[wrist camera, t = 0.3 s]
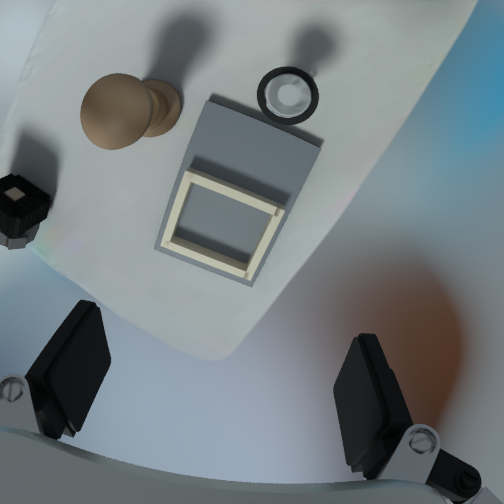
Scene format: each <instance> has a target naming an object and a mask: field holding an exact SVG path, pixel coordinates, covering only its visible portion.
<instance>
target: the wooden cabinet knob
mask: <svg viewBox="0 0 504 504" xmlns="http://www.w3.org/2000/svg"><path fill="white" fill-rule="evenodd" d="M180 113H181V100H180V97H179V94H178V92H177V91H176V90H175V88H174V87H173V86H171V85H170V84H168V83H166V82H164V81H159V80H148V81H144V82H142V81H141V80H140V79H138V78H136V77H134V76H131V75H127V74H121V73H115V74H110V75H107V76H104V77H102V78H100V79H99V80H98V81H96V82H95V83H94V84H93V85H92V86H91V87H90V88H89V90H88V91H87V93H86V95H85V97H84V99H83V102H82V105H81V112H80V118H81V124H82V128H83V130H84V132H85V134H86V136H87V137H88V139H89V140H90V141H91V142H92V143H94V144H95V145H96V146H98V147H100V148H103V149H108V150H116V149H121V148H124V147H127V146H129V145H131V144H133V143H135V142H136V141H137V140H139V139H140V138H141V137H142V136H144V137H155V136H159V135H162V134H164V133H166V132H168V131H169V130H170V129H171V128H172V127H173V126H174V125H175V124H176V122H177V121H178V119H179V116H180Z"/></svg>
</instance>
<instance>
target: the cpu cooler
mask: <svg viewBox="0 0 504 504" xmlns="http://www.w3.org/2000/svg"><path fill="white" fill-rule="evenodd" d="M49 199H50V196H49V195H47V194H46V193H45V192H43V191H42V190H40V189H39V188H37V187H35V186H34V185H33V184H31V183H30V182H29V181H26V179H24V178H22V177H21V176H19V175H17V176H14V175H13V174H9V175H8V176H5V177H3V178H0V245H3V246H6V247H8V249H9V250H11V249H20V248H25V246H26V244H28V243H29V242H31V241H33V240H34V238H35V236H36V233H37V231H38V229H39V225H40V222H42V221H43V220H45V219H46V218H47V215H48V211H49V207H50V203H51V201H50V200H49Z"/></svg>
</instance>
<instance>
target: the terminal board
mask: <svg viewBox="0 0 504 504" xmlns="http://www.w3.org/2000/svg"><path fill="white" fill-rule="evenodd" d="M320 150H321V148H319V147H317V146H315V145H313V144H311V143H309V142H307V141H305V140H303V139H301V138H298V137H296V136H294V135H292V134H290V133H287V132H285V131H283V130H281V129H278V128H276V127H274V126H272V125H269V124H267V123H265V122H262V121H260V120H257V119H255V118H252V117H250V116H248V115H245V114H243V113H240V112H237V111H235V110H232V109H230V108H227V107H224V106H222V105H219V104H216V103H214V102H211V101H208V100H206V102H205V105H204V107H203V110H202V112H201V115H200V117H199V119H198V122H197V124H196V127H195V130H194V132H193V135H192V137H191V140H190V143H189V145H188V148H187V150H186V153H185V156H184V159H183V161H182V164H181V167H180V170H179V173H178V175H177V178H176V181H175V184H174V187H173V190H172V193H171V196H170V199H169V202H168V205H167V208H166V211H165V214H164V217H163V220H162V224H161V227H160V230H159V233H158V237H157V240H156V243H155V247H154V249H155V250H157V251H160V252H162V253H165V254H167V255H170V256H172V257H175V258H177V259H180V260H182V261H185V262H187V263H190V264H192V265H195V266H198V267H200V268H203V269H205V270H208V271H210V272H213V273H216V274H218V275H221V276H223V277H226V278H229V279H231V280H234V281H236V282H239V283H242V284H244V285H247V286H250V287H252V286H253V284H254V282H255V280H256V278H257V277H258V275H259V273H260V271H261V269H262V267H263V265H264V263H265V261H266V259H267V257H268V255H269V253H270V251H271V249H272V247H273V245H274V243H275V241H276V239H277V237H278V235H279V233H280V231H281V229H282V227H283V225H284V223H285V221H286V219H287V217H288V215H289V213H290V211H291V209H292V207H293V205H294V203H295V201H296V199H297V197H298V195H299V193H300V191H301V189H302V187H303V185H304V183H305V181H306V179H307V177H308V175H309V173H310V171H311V169H312V167H313V165H314V163H315V161H316V158H317V156H318V154H319V152H320Z"/></svg>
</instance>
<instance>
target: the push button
mask: <svg viewBox="0 0 504 504" xmlns="http://www.w3.org/2000/svg"><path fill="white" fill-rule="evenodd" d="M270 80H271V81H270ZM269 81H270V83H269V84H268V82H269ZM267 84H268V85H267ZM266 85H267V87H266ZM265 87H266V92H265V96H264V90H265ZM257 100H258V104H259V106H260V108H261V110H262V112H263V113H264V114H265V115H266V116H267V117H268V118H269V119H271V120H272V121H274V122H276V123H279V124H284V125H294V124H298V123H301V122H303V121H305V120H307V119H308V118H309V117H310V116H311V115H312V114H313V113H314V111H315V110H316V108H317V105H318V100H319V93H318V88H317V86H316V84H315V82H314V80H313V79H312V78H311V77H310V76H309V75H308V74H307V73H306V72H304V71H302V70H300V69H298V68H295V67H279V68H276V69H274V70H272V71H270V72H268V73H267V74H266V75H265V76H264V77H263V78H262V80H261V81H260V83H259V86H258V89H257ZM274 113H276V114H278V115H280V116H283V117H292V118H283V117H279V116H277V115H275V114H274Z"/></svg>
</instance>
